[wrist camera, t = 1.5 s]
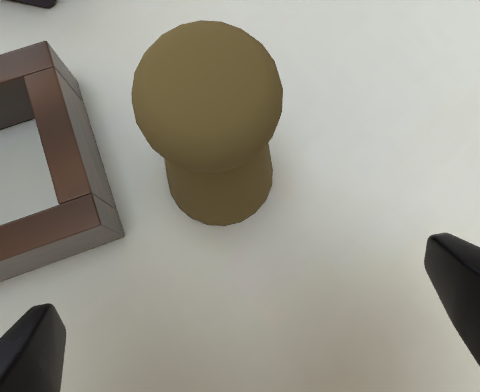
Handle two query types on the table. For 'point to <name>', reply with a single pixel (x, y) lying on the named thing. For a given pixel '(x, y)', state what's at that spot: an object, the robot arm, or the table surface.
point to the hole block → (54, 164)
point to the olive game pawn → (210, 117)
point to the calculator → (39, 2)
